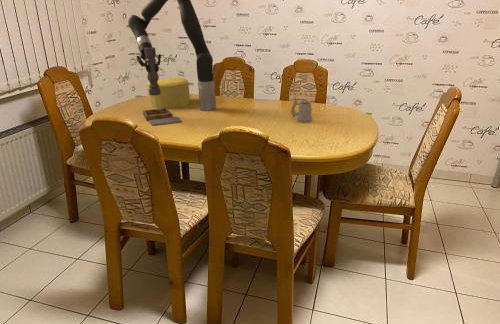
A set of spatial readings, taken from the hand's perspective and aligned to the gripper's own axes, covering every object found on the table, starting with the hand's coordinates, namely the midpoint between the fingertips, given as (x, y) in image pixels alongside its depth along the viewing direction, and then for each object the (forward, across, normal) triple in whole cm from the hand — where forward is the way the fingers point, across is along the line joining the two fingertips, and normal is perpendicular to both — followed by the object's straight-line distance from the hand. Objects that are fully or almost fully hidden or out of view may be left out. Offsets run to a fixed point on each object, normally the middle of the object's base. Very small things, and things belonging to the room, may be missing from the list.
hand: (153, 71), depth 205 cm
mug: (+52, +65, -15) cm, 85 cm away
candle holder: (+8, 0, +11) cm, 13 cm away
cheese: (-2, +16, +39) cm, 42 cm away
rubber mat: (+26, 0, +10) cm, 28 cm away
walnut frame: (+17, 0, +20) cm, 26 cm away
